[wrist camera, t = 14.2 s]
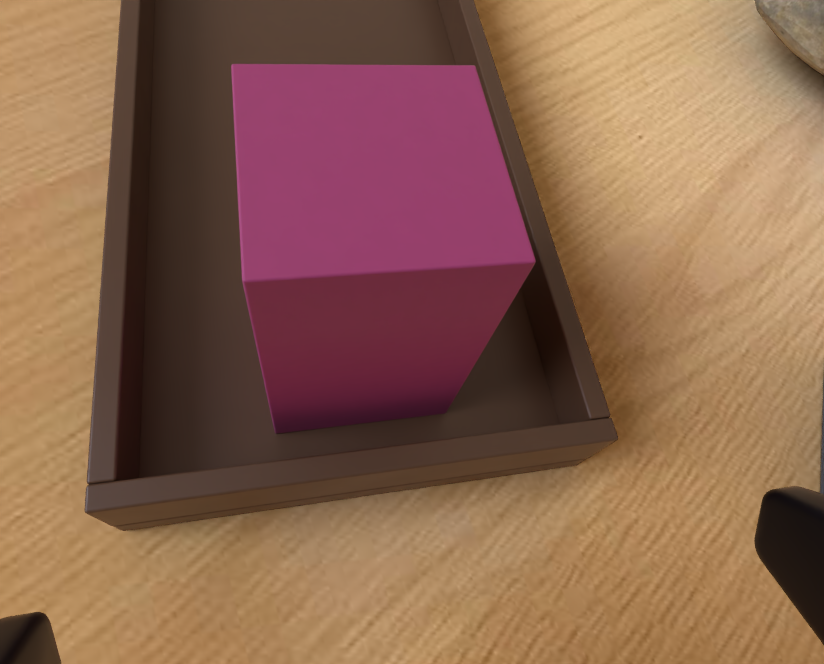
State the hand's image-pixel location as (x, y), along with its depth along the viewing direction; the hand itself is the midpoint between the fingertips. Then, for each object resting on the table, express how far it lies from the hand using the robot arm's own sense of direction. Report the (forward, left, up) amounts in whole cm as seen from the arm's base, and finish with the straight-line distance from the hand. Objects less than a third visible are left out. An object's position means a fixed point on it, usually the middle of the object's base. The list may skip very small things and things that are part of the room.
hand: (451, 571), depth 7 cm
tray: (+19, +14, -8) cm, 25 cm away
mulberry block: (+5, +4, -7) cm, 10 cm away
